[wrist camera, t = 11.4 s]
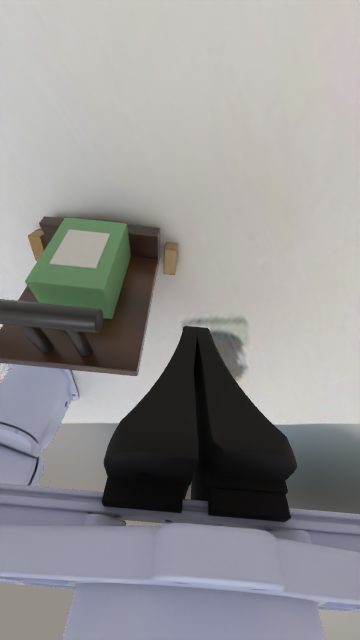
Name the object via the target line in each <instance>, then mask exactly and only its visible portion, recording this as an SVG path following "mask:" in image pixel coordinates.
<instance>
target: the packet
mask: <svg viewBox="0 0 360 640" xmlns="http://www.w3.org/2000/svg"><path fill="white" fill-rule="evenodd" d="M130 257H131V252H130V244H129V236H128V229H127V224H126V223H117V222H108V221H98V220H89V219H79V218H69V217H65V218H64V220H63V222H62V223H61V225H60V226H59V228H58V230H57V231H56V233H55V234H54V236H53V238H52V239H51V241H50V242H49V244H48V246H47V247H46V249H45V250H44V252H43V253H42V255H41V257H40V258H39V260H38V261H37V263H36V265H35V266H34V268H33V269H32V271H31V273H30V274H29V276H28V277H27V279H26V281H25V282H26V283H27V285H28V286H29V288H30V289H31V291H32V292H33V294H34V295H35V297H36V298H37V300H38V301H39V303H46V304H56V305H66V306H76V307H86V308H96V309H101V310H102V312H103V318H107V319H112V318H113V315H114V312H115V309H116V305H117V302H118V298H119V295H120V292H121V288H122V285H123V281H124V278H125V274H126V271H127V268H128V264H129V261H130Z"/></svg>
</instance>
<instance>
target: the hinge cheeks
mask: <svg viewBox="0 0 360 640" xmlns="http://www.w3.org/2000/svg"><path fill="white" fill-rule="evenodd" d="M28 238H29V241H30V244H31V247H32V250H33V253H34V256H35V259H36V261H38V260H39V258H40V257H41V255H42V253H43V252H44V250H45V249H46V247H47V246H48V241H47V239H46V237H45V235H44V233H43V231H42V230H41V229H38V230H36V231H34V232H33V233H31V234H30V235H28ZM177 250H178V244H176V243H166V246H165V252H164V274H170V275H175V271H176V263H177Z"/></svg>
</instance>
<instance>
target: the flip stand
mask: <svg viewBox="0 0 360 640" xmlns="http://www.w3.org/2000/svg"><path fill="white" fill-rule="evenodd" d="M63 220H64V218H55V217H44V218H43V219H42V220H41V222H40V223H39V224H40V226H41V229H42V231H43V233H44V235H45V237H46V239H47V241H48V244H49V242H50V241H51V239H52V238H53V236H54V234H55V233H56V231H57V230H58V228H59V226H60V225H61V223H62V222H63ZM127 229H128V236H129V244H130V252H131V257H130V261H129V264H128V268H127V271H126V274H125V278H124V281H123V285H122V288H121V292H120V295H119V298H118V302H117V305H116V309H115V312H114V315H113V318H112V319H107V318H103V312H102V310H101V309H96V308H86V307H76V306H66V305H56V304H46V303H39V301H38V300H37V298H36V297H35V295H34V294H33V292H32V291H31V289H30V288H29V286H28V285H27V287H26V289H25V290H24V292H23V293H22V295H21V297H20V298H19V300H18V301H15V300H5V299H0V324H4V325H3V326H2V328H1V329H0V363H6V364H16V365H26V366H37V367H47V368H58V369H68V370H78V371H89V372H99V373H109V374H120V375H130V376H137V375H138V371H139V366H140V361H141V355H142V350H143V345H144V339H145V334H146V328H147V323H148V318H149V312H150V307H151V302H152V296H153V291H154V286H155V280H156V275H157V269H158V264H159V259H160V252H159V251H160V229H159V228H151V227H141V226H131V225H127Z"/></svg>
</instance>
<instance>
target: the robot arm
mask: <svg viewBox="0 0 360 640" xmlns="http://www.w3.org/2000/svg"><path fill="white" fill-rule="evenodd" d="M8 365H9V367H10V371H9V372H8V373H7V374H6V376H5V377H4V378H3V380H2V381H1V382H0V582H3V583H14V584H25V585H35V586H45V587H55V588H66V589H75V594H74V597H73V601H72V605H71V609H70V613H69V616H68V620H67V624H66V628H65V631H64V635H63V639H62V640H326V639H325V635H324V631H323V627H322V623H321V619H320V615H319V611H318V609H324V610H338V611H354V612H360V514H348V513H337V512H326V511H315V510H302V509H292V508H289V507H288V503H287V499H286V495H285V494H286V493H287V492H288V490H287V486H286V482H285V480H287V479H288V478H289V477H290V476H291V475H292V474H293V473H294V471H295V470H296V468H297V463H296V460H295V456H294V454H293V451H292V449H291V446H290V444H289V442H288V439H287V437H286V436H285V435H284V434H283V433H282V432H281V431H280V430H278V429H277V428H276V427H275V426H274V425H273V424H272V423H271V422H270V421H269V420H268V419H267V418H266V417H265V416H264V415H263V414H262V413H261V412H260V411H259V410H258V408H257V407H256V406H255V405H254V404H253V403H252V401H251V400H250V399H249V398H248V397H247V396H246V394H245V393H244V392H243V390H242V389H241V388H240V387H239V385H238V384H237V382H236V381H235V379H234V378H233V376H232V375H231V373H230V372H229V370H228V368H227V367H226V365H225V363H224V362H223V360H222V358H221V356H220V354H219V352H218V350H217V348H216V346H215V344H214V341H213V339H212V336H211V333H210V330H209V329H208V328H201V327H191V326H185V327H183V332H182V335H181V338H180V341H179V344H178V346H177V348H176V350H175V352H174V354H173V356H172V358H171V360H170V362H169V363H168V365H167V367H166V368H165V370H164V372H163V373H162V374H161V376H160V377H159V379H158V380H157V382H156V383H155V384H154V386H153V387H152V388H151V389H150V391H149V392H148V393H147V394H146V395H145V396H144V398H143V399H142V400H141V401H140V402H139V403H138V404H137V405H136V407H135V408H134V409H133V410H132V411H131V412H129V413H128V414H127V415H126V416H125V417H124V418H123V419H122V420H121V421H120V423H119V425H118V427H117V428H116V430H115V432H114V434H113V436H112V438H111V440H110V443H109V445H108V448H107V451H106V455H105V458H104V467H105V470H106V473H107V476H108V478H107V482H106V486H105V490H104V492H95V491H84V490H73V489H61V488H50V487H38V486H39V483H40V480H41V478H42V475H43V470H44V465H43V457H42V456H41V455H39V454H40V452H41V451H42V450H43V449H44V448H45V447H47V446H48V445H49V444H50V443H51V441H52V440H53V439H54V437H55V435H56V433H57V431H58V428H59V426H60V424H61V422H62V420H63V418H64V415H65V413H66V411H67V409H68V407H69V405H70V402H71V400H78V399H79V395H78V392H77V389H76V386H75V383H74V380H73V377H72V374H71V371H70V370H68V369H58V368H47V367H37V366H26V365H16V364H8ZM191 481H192V485H191V500H188V499H185V497H186V493H187V490H188V487H189V485H190V484H191ZM124 520H131V521H144V522H155V523H166V524H164V525H162V526H126V522H125V521H124Z"/></svg>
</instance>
